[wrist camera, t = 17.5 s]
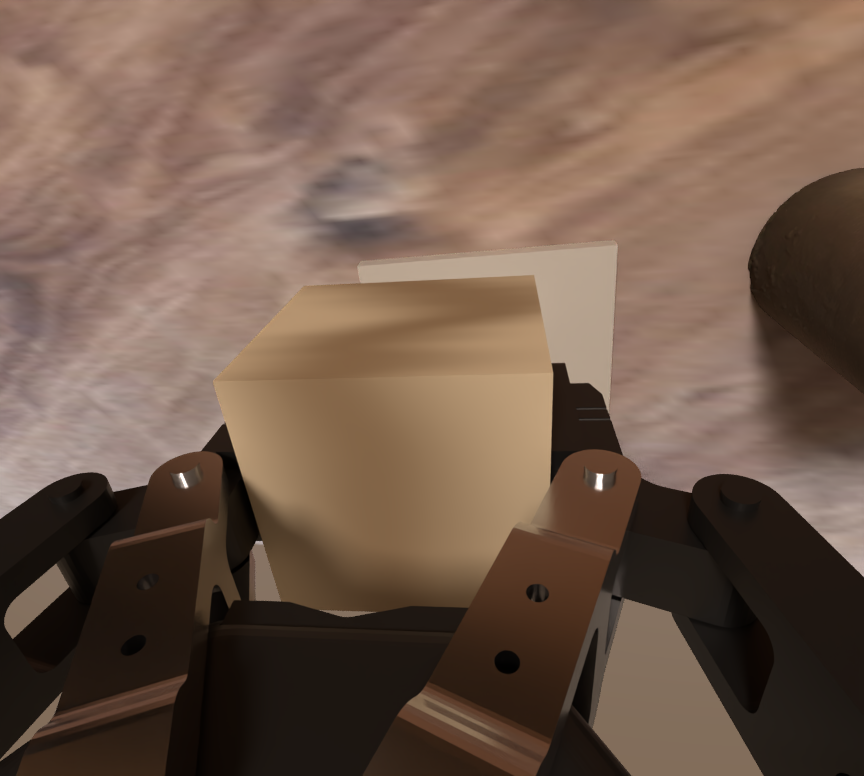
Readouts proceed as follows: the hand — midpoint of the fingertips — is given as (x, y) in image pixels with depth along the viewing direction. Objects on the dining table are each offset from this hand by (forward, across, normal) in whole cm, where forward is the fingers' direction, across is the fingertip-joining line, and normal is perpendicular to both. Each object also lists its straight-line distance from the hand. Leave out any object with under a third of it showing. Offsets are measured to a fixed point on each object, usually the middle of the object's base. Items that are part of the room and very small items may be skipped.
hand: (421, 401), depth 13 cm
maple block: (+1, 0, 0) cm, 1 cm away
